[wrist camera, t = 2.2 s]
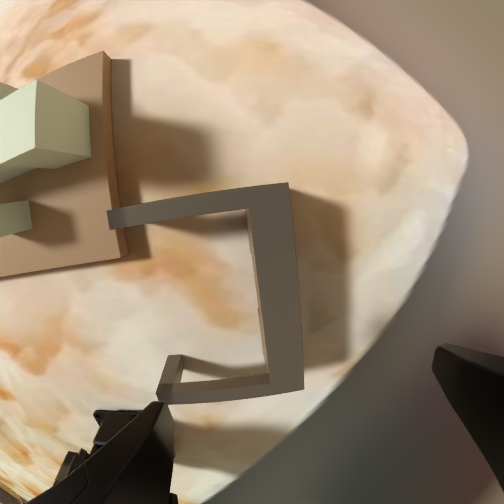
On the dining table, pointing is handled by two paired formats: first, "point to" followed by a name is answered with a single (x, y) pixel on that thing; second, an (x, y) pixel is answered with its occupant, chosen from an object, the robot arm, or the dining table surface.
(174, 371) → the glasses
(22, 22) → the dining table surface
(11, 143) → the green blocks on base
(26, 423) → the dining table surface
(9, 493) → the hardcover book
